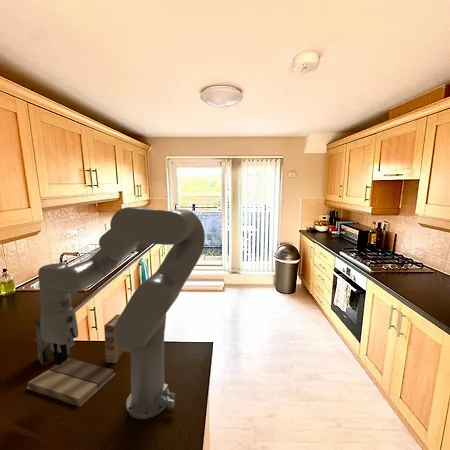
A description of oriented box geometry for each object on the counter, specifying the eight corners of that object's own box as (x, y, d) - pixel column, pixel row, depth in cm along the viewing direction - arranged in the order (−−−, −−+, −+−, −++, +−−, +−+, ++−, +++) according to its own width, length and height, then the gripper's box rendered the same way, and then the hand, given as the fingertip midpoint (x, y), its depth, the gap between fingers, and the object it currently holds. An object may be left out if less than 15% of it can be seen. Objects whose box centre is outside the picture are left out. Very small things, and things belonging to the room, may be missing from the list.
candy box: (116, 365, 88) (115, 325, 87) (105, 364, 89) (103, 325, 87) (127, 350, 97) (126, 314, 96) (117, 350, 98) (116, 314, 96)
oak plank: (97, 388, 76) (97, 384, 76) (79, 404, 70) (79, 399, 70) (48, 374, 82) (48, 369, 82) (27, 387, 76) (27, 382, 76)
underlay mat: (115, 376, 83) (115, 373, 83) (80, 409, 70) (80, 406, 69) (67, 363, 89) (67, 360, 89) (26, 391, 76) (26, 388, 76)
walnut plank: (113, 374, 83) (113, 369, 82) (98, 387, 76) (98, 383, 76) (67, 361, 89) (67, 357, 89) (49, 373, 83) (49, 369, 82)
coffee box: (65, 349, 97) (63, 311, 96) (70, 356, 93) (68, 316, 92) (37, 361, 90) (34, 319, 89) (42, 368, 86) (39, 325, 85)
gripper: (86, 302, 74) (90, 359, 76) (50, 297, 78) (54, 351, 80) (63, 313, 67) (68, 375, 69) (25, 307, 71) (30, 365, 73)
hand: (60, 362), depth 74 cm, fingers closed
